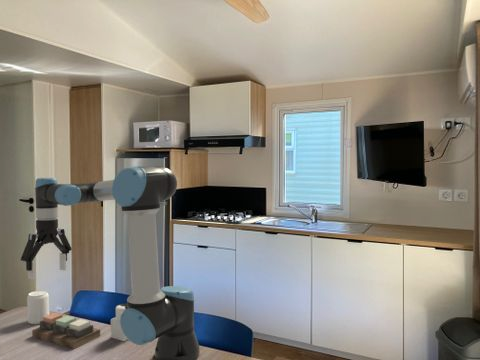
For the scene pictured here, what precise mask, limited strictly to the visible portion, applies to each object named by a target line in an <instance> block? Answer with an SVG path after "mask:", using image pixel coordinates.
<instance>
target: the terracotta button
mask: <svg viewBox="0 0 480 360" xmlns="http://www.w3.org/2000/svg"><path fill="white" fill-rule="evenodd" d="M62 317H64V316H63V314H61V313H57V312H52V313H49V315H46V316H44V317H43V322H46V323H50V324H52V323H55V322H56V320H57V319H60V318H62Z"/></svg>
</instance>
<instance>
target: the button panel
mask: <svg viewBox="0 0 480 360" xmlns="http://www.w3.org/2000/svg"><path fill="white" fill-rule="evenodd" d="M31 335H32V338H37V339H39V340H43V341H46V342H49V343H52V344H55V345H60V346H63V347H66V348H70V349H73V350H75V349H77V348H79V347H81V346H83V345H86V344H88V343H90V342H91V341H93V340H95V339H98V338H99V337H101V329H99V328H96V327H94V325H93V324H90V326H89V327H87V328H85V329H83V330H80V331H76V330H73V329H70V327H69V326H67V327H61V326H57V325H56V322H55V323H52V324H50V323H46V322H43V320H42V321H40V324H39V327H37V328H34V329H32V332H31Z"/></svg>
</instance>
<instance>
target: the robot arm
mask: <svg viewBox="0 0 480 360" xmlns="http://www.w3.org/2000/svg"><path fill="white" fill-rule="evenodd" d="M177 188H178V180H177V177H176V175H175V174H174V172H173V171H172V170H171V169H169V168H167V167H165V166H158V165H157V166H130V167H125V168H123V169H121V170H120V171H118V173H117V175H116V176H114V178H113V179H109V180H102V181H94V182H85V183H84V182H83V183H80V182H79V183H58V179H57V178H55V177H40V178H36V179H35V187H34V196H35V198H34V199H35V201H34V202H35V219H36V220H35V229H36V233H34V234H33V233H29V234H28V237H27V238H28V239H27V243H26V245H25V247H24V249H23V252H22V254H21V257H20V261H22V262H25V263H26V264H25V265H26V266H25V267H26V269H25V270H26V271H27V279H29V280H36V269H35V268H36V266H35V265H36V264H35V263H36V262H35V261H34V259H35V258H36V256H37V255H38V253H39V251H40V250H41V248H42V247H44V245H47V244H52V243H53V244H54V245H55V247H56V248H57V249H58V250H59V251H60V252H59V270H60V271H63V272H64V271H67V261H68V254H69V253H70V251H72V247H71V244H70V243H69V240H68V237H67V236H66V234H65V233H66V231H65V229H63V228H59V219H58V217H59V211H58V210H59V209H58V205H61V206H74V205H75V206H76V205H77V204H85V203H97V202H105V201H115V203H116V204H117V205H119V206H120V207H121V213H123V214H124V216H126V217H127V232H128V234H127V235H128V248H129V250H128V251H129V267H130V269H129V270H130V283H131V284H130V285H131V294H130V295H129V296H128V297H127V299H126V301H127V303H126V304H127V305H128V309H126V310H124V312H123V313H122V315H121V317H120V324H121V328H122V331H123V333H124V335H125V336H126V337H127V338H128V340H129V342H131V343H132V344H134V345H136V346H143V345H146V344H148V343H152V342H153V341H155V340H157V342H156V345H155V349H154V358H155V360H196V359H197V358H198V357H199V356H200V353H201V352H200V349H201V348H200V344H199V341H198V338H197V336H196V333H195V299H194V296H195V295H194V291H193V290H192V289H191V288H189V287H187V286H179V285H170V286H168V285H167V286H163V287H161V285H160V284H161V283H160V282H161V280H160V270H159V269H160V266H159V251H158V235H157V233H158V232H157V221H156V219H157V217H156V214H157V213H158V212H159V211H160V209H161V204H160V203H161V202H164V201H167V200H169V199H171V198H172V197H173V195H175V193H176V191H177ZM57 236H58V237H59V238H58V237H57ZM128 340H127V341H128Z"/></svg>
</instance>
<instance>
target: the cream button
mask: <svg viewBox="0 0 480 360" xmlns="http://www.w3.org/2000/svg"><path fill="white" fill-rule="evenodd" d="M90 325H91V321H90V320H86V319H83V318H79V319H76V321H75V322H72V323H70V324H69V327H70V329H73V330H76V331H80V330H83V329H85V328H87V327H89V326H90Z"/></svg>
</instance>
